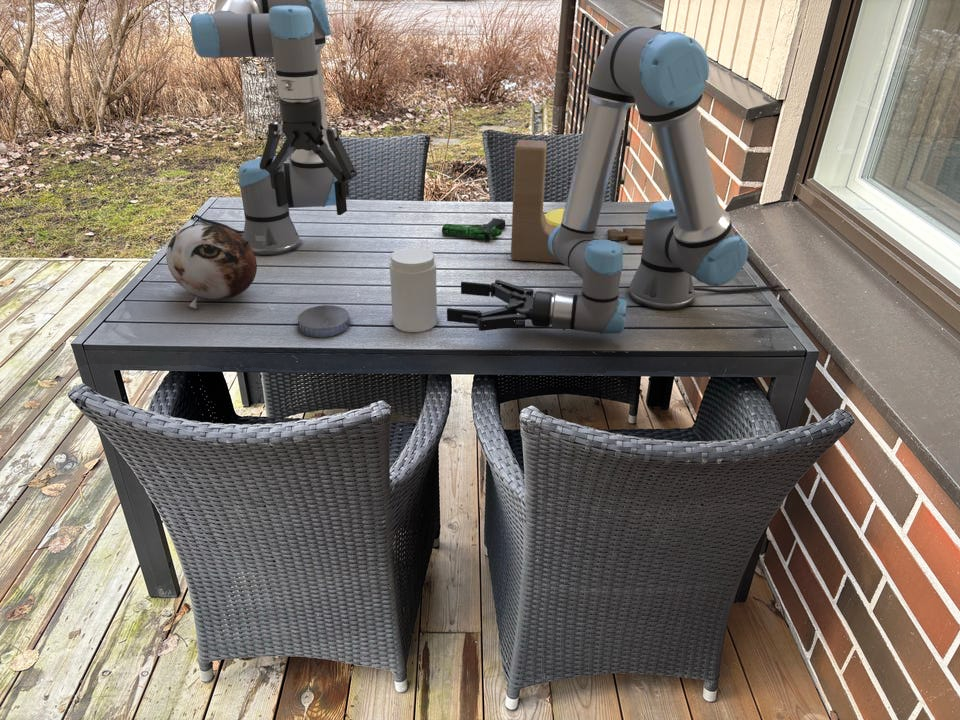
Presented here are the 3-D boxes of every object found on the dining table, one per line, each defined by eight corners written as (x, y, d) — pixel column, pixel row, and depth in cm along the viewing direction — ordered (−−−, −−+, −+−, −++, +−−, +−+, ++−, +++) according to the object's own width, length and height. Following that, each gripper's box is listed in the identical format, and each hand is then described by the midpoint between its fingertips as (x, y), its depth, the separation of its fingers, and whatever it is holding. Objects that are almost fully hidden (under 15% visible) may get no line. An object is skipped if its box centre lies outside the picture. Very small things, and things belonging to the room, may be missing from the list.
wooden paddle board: (702, 246, 201) (693, 234, 209) (703, 241, 200) (694, 228, 208) (610, 243, 201) (606, 231, 210) (611, 237, 200) (606, 225, 209)
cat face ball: (130, 285, 161) (164, 203, 163) (192, 308, 177) (221, 233, 178) (195, 307, 151) (229, 220, 152) (254, 330, 166) (285, 250, 168)
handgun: (511, 219, 210) (493, 234, 198) (511, 228, 211) (492, 244, 199) (461, 212, 215) (440, 226, 203) (461, 221, 217) (440, 236, 204)
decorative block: (567, 264, 188) (576, 149, 173) (510, 260, 190) (514, 146, 174) (568, 253, 194) (577, 141, 179) (513, 250, 196) (517, 138, 181)
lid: (354, 314, 162) (354, 306, 161) (343, 338, 152) (343, 329, 151) (306, 312, 162) (305, 304, 161) (292, 336, 153) (291, 327, 152)
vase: (559, 216, 220) (561, 193, 217) (605, 227, 212) (608, 204, 209) (532, 230, 209) (533, 207, 206) (580, 242, 201) (582, 218, 198)
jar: (394, 333, 155) (390, 265, 146) (391, 313, 163) (387, 247, 155) (439, 330, 156) (438, 263, 148) (434, 310, 164) (432, 245, 156)
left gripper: (230, 97, 133) (247, 207, 144) (350, 107, 126) (359, 222, 137) (253, 90, 139) (268, 196, 150) (369, 100, 133) (376, 210, 143)
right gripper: (544, 354, 143) (441, 343, 147) (556, 300, 164) (466, 292, 168) (546, 321, 139) (440, 310, 143) (558, 270, 160) (466, 262, 164)
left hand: (311, 209), depth 144 cm, fingers open, 13 cm apart
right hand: (454, 300), depth 155 cm, fingers open, 13 cm apart
